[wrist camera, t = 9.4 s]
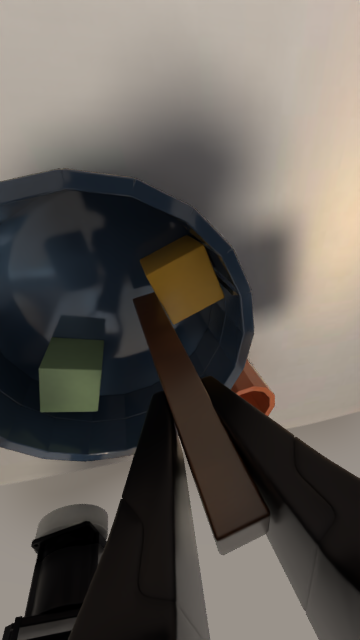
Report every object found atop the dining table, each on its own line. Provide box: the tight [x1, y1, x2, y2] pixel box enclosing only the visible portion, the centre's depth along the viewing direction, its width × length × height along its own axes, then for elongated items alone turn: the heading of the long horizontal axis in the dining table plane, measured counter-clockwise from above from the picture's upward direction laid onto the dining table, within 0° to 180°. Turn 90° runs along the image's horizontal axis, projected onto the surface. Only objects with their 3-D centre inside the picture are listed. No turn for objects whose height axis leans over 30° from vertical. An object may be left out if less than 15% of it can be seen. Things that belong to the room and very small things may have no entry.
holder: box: [231, 360, 275, 416], centre depth 19 cm, size 4×4×4 cm
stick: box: [133, 292, 271, 555], centre depth 9 cm, size 1×1×10 cm
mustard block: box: [140, 235, 224, 324], centre depth 13 cm, size 3×3×3 cm
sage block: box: [39, 337, 104, 412], centre depth 15 cm, size 3×3×3 cm
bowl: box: [0, 168, 254, 462], centre depth 13 cm, size 14×14×5 cm
